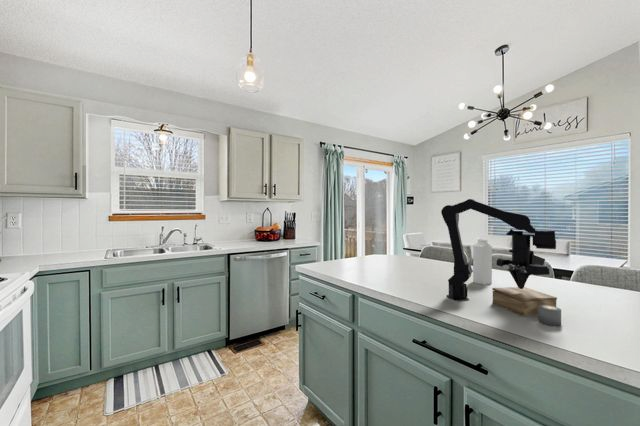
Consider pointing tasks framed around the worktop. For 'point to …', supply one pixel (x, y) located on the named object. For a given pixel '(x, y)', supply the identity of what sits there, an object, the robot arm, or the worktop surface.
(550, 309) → the grey rounded block
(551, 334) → the worktop surface
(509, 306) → the box
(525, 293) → the lid
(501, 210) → the robot arm
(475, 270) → the milk
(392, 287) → the worktop surface
